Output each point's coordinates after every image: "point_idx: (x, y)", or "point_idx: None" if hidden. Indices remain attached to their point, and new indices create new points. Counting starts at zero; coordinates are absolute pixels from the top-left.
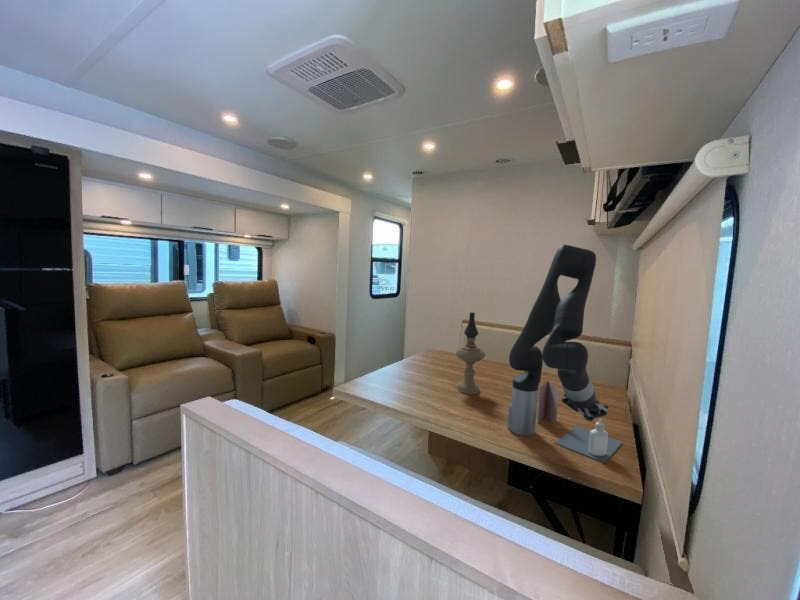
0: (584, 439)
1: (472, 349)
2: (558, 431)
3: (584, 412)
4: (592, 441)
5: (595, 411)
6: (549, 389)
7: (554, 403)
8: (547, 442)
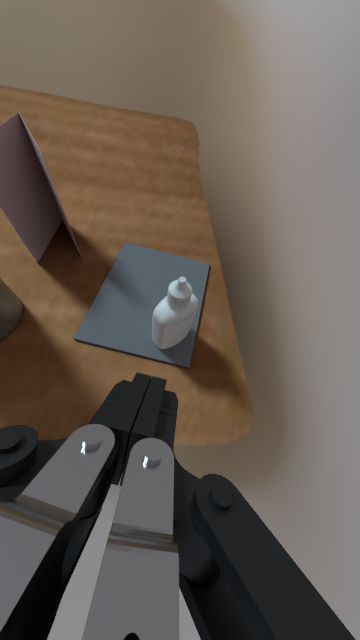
0: (143, 287)
1: None
2: (87, 277)
3: (85, 543)
4: (161, 335)
5: (202, 557)
6: (34, 149)
7: (58, 201)
8: (54, 344)
